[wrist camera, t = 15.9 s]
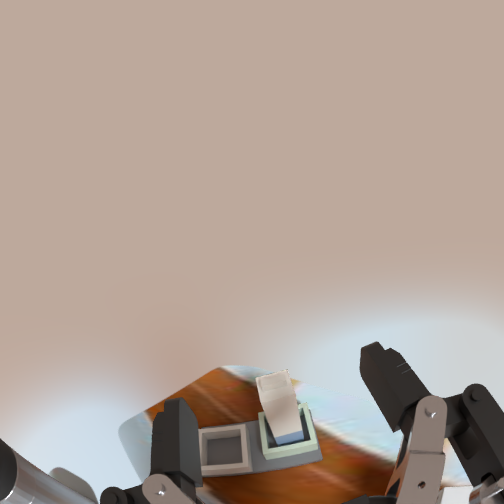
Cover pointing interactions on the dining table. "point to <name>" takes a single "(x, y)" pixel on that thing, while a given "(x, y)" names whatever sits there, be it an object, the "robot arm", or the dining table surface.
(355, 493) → the dining table surface
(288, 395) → the milk carton
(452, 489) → the supplement box
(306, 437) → the double bin tray
